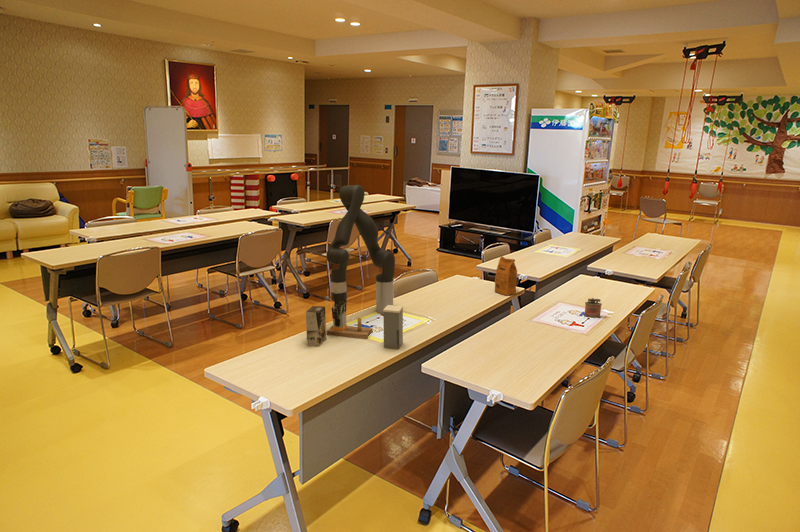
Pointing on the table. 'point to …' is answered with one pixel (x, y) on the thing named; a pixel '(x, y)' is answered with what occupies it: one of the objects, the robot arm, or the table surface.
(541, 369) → the table surface
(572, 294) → the table surface
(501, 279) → the coffee package
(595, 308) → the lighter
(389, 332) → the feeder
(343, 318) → the sleeve
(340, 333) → the pin block
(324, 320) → the coffee box
